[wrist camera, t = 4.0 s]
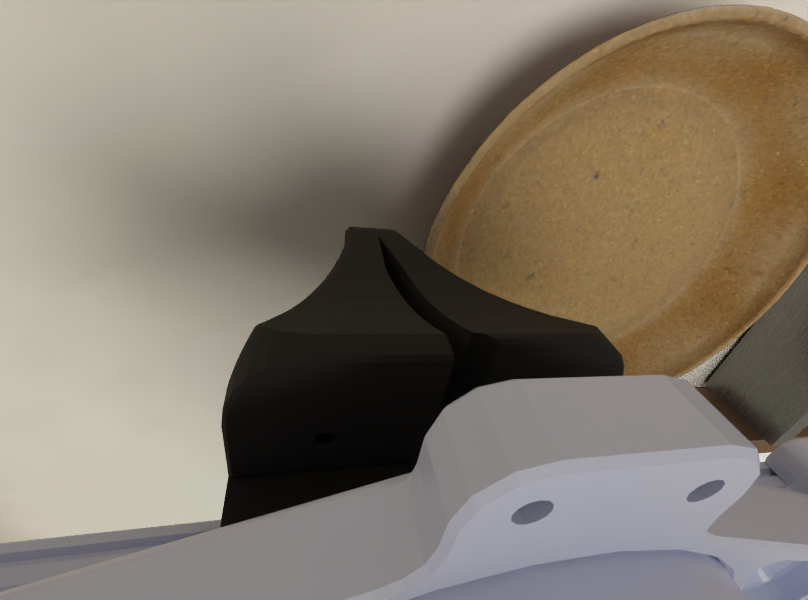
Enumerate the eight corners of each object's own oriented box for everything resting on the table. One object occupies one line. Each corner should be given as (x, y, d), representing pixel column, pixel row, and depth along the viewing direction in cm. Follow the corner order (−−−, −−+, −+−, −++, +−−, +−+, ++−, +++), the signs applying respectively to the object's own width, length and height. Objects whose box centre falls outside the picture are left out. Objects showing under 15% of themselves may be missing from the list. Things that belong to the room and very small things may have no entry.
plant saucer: (526, 416, 22) (550, 459, 20) (312, 255, 14) (313, 300, 12) (803, 231, 17) (870, 261, 15) (728, -155, 9) (846, -200, 7)
